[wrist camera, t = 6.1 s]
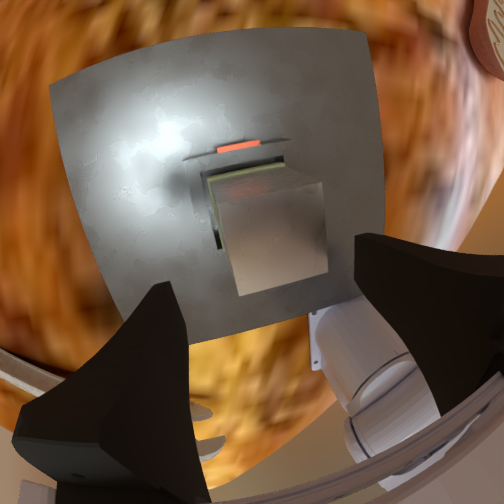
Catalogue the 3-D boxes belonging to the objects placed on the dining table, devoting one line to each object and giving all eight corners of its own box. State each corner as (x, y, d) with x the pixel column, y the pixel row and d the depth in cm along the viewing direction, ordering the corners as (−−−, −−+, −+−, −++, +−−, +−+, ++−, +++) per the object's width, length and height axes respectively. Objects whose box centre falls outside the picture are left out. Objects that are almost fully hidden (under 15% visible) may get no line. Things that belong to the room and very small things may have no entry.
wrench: (-9, 323, 22) (224, 396, 27) (-5, 334, 22) (220, 406, 28) (-41, 364, 14) (227, 459, 20) (-35, 375, 15) (223, 466, 21)
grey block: (290, 230, 17) (330, 273, 12) (222, 247, 16) (237, 299, 12) (281, 161, 15) (324, 179, 10) (206, 177, 15) (214, 201, 10)
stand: (372, 280, 25) (392, 300, 22) (143, 342, 23) (140, 371, 20) (354, 36, 16) (380, 26, 12) (58, 87, 13) (34, 82, 10)
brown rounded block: (456, -50, 9) (479, -56, 5) (496, -5, 12) (519, -6, 8) (449, 47, 17) (485, 45, 12) (492, 99, 20) (523, 104, 15)
